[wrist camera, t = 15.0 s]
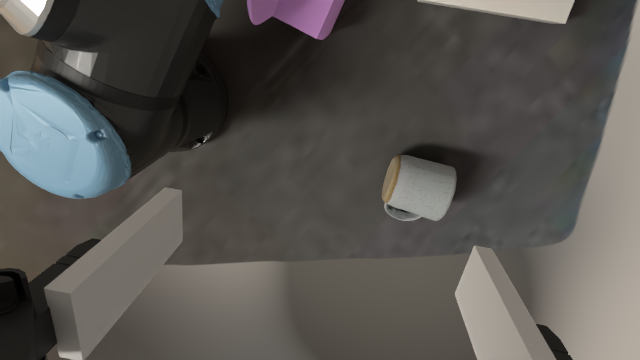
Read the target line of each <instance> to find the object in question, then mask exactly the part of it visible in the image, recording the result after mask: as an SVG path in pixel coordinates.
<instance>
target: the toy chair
mask: <svg viewBox="0 0 640 360" xmlns="http://www.w3.org/2000/svg"><path fill="white" fill-rule="evenodd" d="M344 1H345V0H247V7H248V13H249V18H250V20H251V22H252V23H253V24H254V25H259V24H261V23H263V22H264V21H266V20H267V19H269V18H270V17H272V16H273V17H275V18H277V19H279V20H281V21H283V22H285V23H287V24H289V25H291V26H293V27H295V28H297V29H298V30H300V31H302V32H304V33H306V34H308V35H310V36H312V37H314V38H316V39H319V40H323V39H325V38H326V37H327V36H328V35H329V34H330V32H331V30H332V28H333V26H334V24H335V21H336V19H337V17H338V15H339V12H340V10H341V8H342V6H343V3H344Z"/></svg>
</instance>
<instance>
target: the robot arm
mask: <svg viewBox="0 0 640 360" xmlns="http://www.w3.org/2000/svg"><path fill="white" fill-rule="evenodd" d="M222 3H223V0H0V14H1V15H2V16H3V17H4V18H5V19H6V20H7V21H8V23H9V24H10V25H11V26H12V27H13V28H14V29H15V31H16V32H18V33H19V34H21V35H24V36H28V37H32V38H36V39H39V40H38V44H37V48H36V52H35V56H34V60H33V64H32V67H31V69H30V70H29V71H16V72H12V73H11V74H9V75H8V76H6V77H5V78H3V79H0V150H1V152H2V153H3V154H4V155H5V157H6V159H7V160H8V161H9V163H10V164H11V165H12V166H13V167H14V168H15V169H16V170H17V171H18V172H19V173H21V174H22V175H23V176H24V177H26V178H27V179H28V180H30V181H31V182H32V183H34V184H36V185H37V186H39V187H41V188H43V189H45V190H47V191H49V192H51V193H54V194H57V195H60V196H63V197H67V198H74V199H83V198H93V197H97V196H100V195H102V194H104V193H106V192H108V191H111V190H113V189H115V188H118V187H120V186H122V185H123V184H125V183H126V181H127V180H128V179H130V178H131V177H133V176H134V175H136V174H137V173H139V172H140V171H142V170H143V169H145V168H146V167H147V166H149V165H150V164H152V163H153V162H155V161H156V160H158V159H159V158H161V157H162V156H164V155H165V154H166V153H168V152H179V151H188V150H192V149H195V148H197V147H200V146H201V145H203V144H205V143H206V142H207V141H209V140H210V139H211V138H213V137H214V136H215V135H216V134H217V133H218V131H219V130H220V128H221V127H222V125H223V123H224V120H225V117H226V113H227V93H226V88H225V85H224V82H223V80H222V77H221V75H220V73H219V72H218V70H217V68H216V67H215V65H214V64H213V63H212V62H211V60H210V59H209V58H208V57H207V56H206V55H205V54H203V53H202V52H201V50H202V48H203V46H204V44H205V41H206V39H207V37H208V35H209V32H210V30H211V28H212V26H213V23H214V21H215V19H216V18H217V19H219V17H220V8H221V5H222ZM182 241H183V240H182V190H177V189H172V188H166V187H165V188H164V189H163V190H161V191H160V192H159V193H158V194H157V195H155V196H154V197H153V198H152V199H151V200H149V201H148V202H147V203H146V204H145V205H143V206H142V207H141V208H140V209H139V210H137V211H136V212H135V213H134V214H133V215H131V216H130V217H129V218H128V219H127V220H125V221H124V222H123V223H122V224H121V225H119V226H118V227H117V228H116V229H115V230H113V231H112V232H111V233H110V234H108V235H107V236H106V237H105V238H104V239H102V240H99V239H90V240H88V241H86V242H84V243H81V244H79V245H77V246H76V247H74V248H73V249H72V250H71V251H69V252H68V253H67V254H66V255H65V256H63V257H62V258H60V259H59V260H58V261H56V264H53V265H51V266H50V267H49V268H47V269H46V270H45V271H44V272H42V273H41V274H40V275H39V276H37V277H36V278H35V279H33V280H32V281H31V282H29V283H28V280H27V276H26V274H25V272H23V271H21V270H20V269H13V268H6V269H0V360H47V356H46V354H47V353H48V352H49V351H50V350H51V349H52V347H54V345H55V344H57V348H58V353H59V357H63V358H68V359H73V360H85V359H86V358H87V356H88V355H89V354H90V352H91V351H92V350H93V349H94V348H95V347H96V345H97V344H98V343H99V342H100V341H101V339H102V338H103V337H104V336H105V335H106V333H107V332H108V331H109V330H110V328H111V327H112V326H113V325H114V324H115V322H116V321H117V320H118V319H119V317H120V316H121V315H122V314H123V313H124V312H125V310H126V309H127V308H128V307H129V305H130V304H131V303H132V302H133V301H134V299H135V298H136V297H137V296H138V295H139V293H140V292H141V291H142V290H143V288H144V287H145V286H146V285H147V284H148V282H149V281H150V280H151V279H152V278H153V276H154V275H155V274H156V273H157V271H158V270H159V269H160V268H161V267H162V265H163V264H164V263H165V262H166V261H167V259H168V258H169V257H170V256H171V255H172V253H173V252H174V251H175V250H176V248H177V247H178V246H179V245H180V244H181V242H182ZM455 296H456V299H457V302H458V305H459V308H460V310H461V314H462V316H463V319H464V322H465V325H466V328H467V331H468V334H469V337H470V340H471V342H472V345H473V348H474V351H475V354H476V357H477V360H573V359H572V358H571V356H570V355H568V352H567V350H566V348H565V347H564V345H563V343H562V342H561V340H560V339H559V338H558V337H557V336H556V335H555V334H554V333H553V332H552V331H551V330H550V329H549V328H548V327H547V326H544V325H539V324H535V322H534V321H533V319H532V317H531V315H530V314H529V312H528V311H527V309H526V307H525V305H524V303H523V301H522V300H521V298H520V296H519V295H518V293H517V291H516V289H515V288H514V286H513V284H512V283H511V281H510V279H509V277H508V276H507V274H506V272H505V270H504V269H503V267H502V265H501V264H500V262H499V260H498V258H497V257H496V255H495V254H494V252H493V250H492V249H490V248H485V247H480V246H474V247H473V250H472V252H471V255H470V257H469V260H468V262H467V265H466V267H465V270H464V272H463V275H462V277H461V280H460V282H459V284H458V287H457V290H456V292H455Z"/></svg>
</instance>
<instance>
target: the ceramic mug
mask: <svg viewBox="0 0 640 360" xmlns="http://www.w3.org/2000/svg"><path fill="white" fill-rule="evenodd" d="M456 181H457V176H456V171H455V169H454V168H453V167H451V166H447V165H444V164H440V163H436V162H432V161H428V160H424V159H420V158H416V157H413V156H409V155H397V156H395V157H394V158H393V159H392V161H391V163H390V165H389V168H388V170H387V173H386V177H385V180H384V184H383V188H382V199H383V201H384V202H385V210H386V212H387V213H388V214H389V215H390V216H392V217H394V218H396V219H399V220H404V221H412V220H416V219H419V218H420V217H425V218H428V219H431V220H435V221H438V220H440V219H441V218H442V217H443V216H444V215H445V213H446V212H447V210H448V208H449V206H450V204H451V201H452V199H453V196H454V193H455V189H456ZM390 205H391V206H393V207H395V208H398V209H402V210H405V211H408V212H403V211H400V210H398V209H395V208H393V207H391V206H390Z"/></svg>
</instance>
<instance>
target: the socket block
mask: <svg viewBox="0 0 640 360" xmlns="http://www.w3.org/2000/svg"><path fill="white" fill-rule="evenodd" d="M574 1H575V0H417V2H423V3H429V4H435V5H441V6H447V7H453V8H459V9H465V10H472V11H478V12H484V13H490V14H496V15H502V16H508V17H514V18H520V19H526V20H532V21H538V22H545V23H551V24H565V23H566V21H567V18H568V16H569V13H570V11H571V8H572V6H573V3H574Z"/></svg>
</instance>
